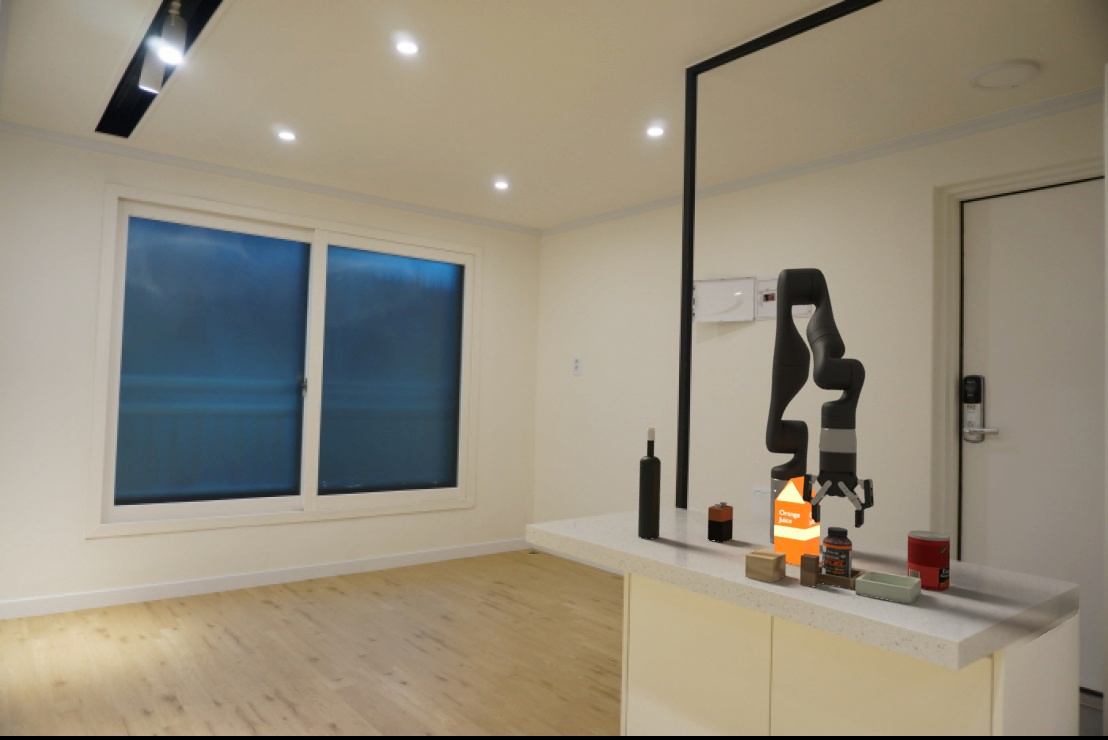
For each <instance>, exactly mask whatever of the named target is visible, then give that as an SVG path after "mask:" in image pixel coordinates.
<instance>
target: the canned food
mask: <svg viewBox="0 0 1108 740" xmlns="http://www.w3.org/2000/svg"><path fill="white" fill-rule="evenodd" d="M907 533H908V534H907V569H906V570H907V577H913V578H919V579H921V590H929V591H939V592H941V591H947V590H948V589H949V587H950V577H951V576H950V575H951V574H950V570H951V569H950V567H951V566H950V565H951V564H950V563H951V560H950V559H951V538H950V535H948V534H945V533H942V532H936V531H928V530H909V531H908V532H907Z"/></svg>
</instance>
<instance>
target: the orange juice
mask: <svg viewBox="0 0 1108 740" xmlns="http://www.w3.org/2000/svg"><path fill="white" fill-rule="evenodd" d="M803 484H804V477H799V478H793V479H791V480H790V481H789V482H788V484H787V485H786V486H785V488H784V489H783V491H782V492H781V493H780V495H779V496H778V497H777V499H776V500H775V525H774V543H773V547H774V548H773V551H774V552H780V553H786V562H788V563H787V564H790V563H794V564H793V565H795V564H799V565H798V566H800V556H801V555H803V554H805V553H806V554H812V555H818V556H819V557H820V535H821V534H820V533H821V531H820V530H821V529H820V528H821V526H820V522H821V521H820V522H819V523H815V522H814V520H813V519H812V517H811V504H810V503H809V502H806V501H803V499H802V497H803ZM816 494H817V492H815V490H814V488H813V487H812V497H815V495H816ZM819 505H820V506H821V502H820V503H819Z"/></svg>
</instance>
